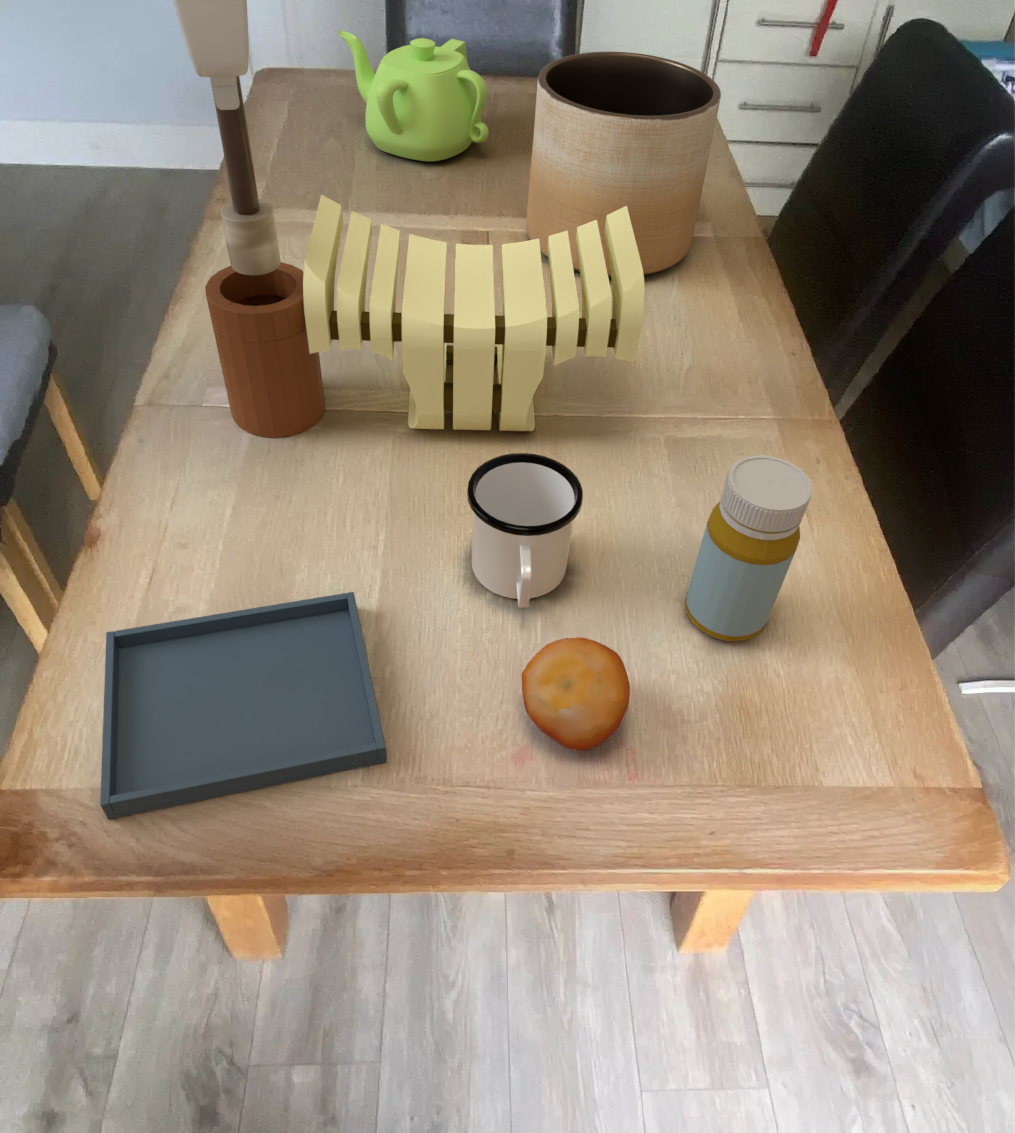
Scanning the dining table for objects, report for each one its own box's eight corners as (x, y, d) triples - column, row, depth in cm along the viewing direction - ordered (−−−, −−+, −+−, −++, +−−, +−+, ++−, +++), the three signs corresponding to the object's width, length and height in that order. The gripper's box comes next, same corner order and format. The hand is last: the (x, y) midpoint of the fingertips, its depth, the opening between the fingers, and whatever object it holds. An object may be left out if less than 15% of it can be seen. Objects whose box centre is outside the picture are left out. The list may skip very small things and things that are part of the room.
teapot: (499, 163, 137) (503, 59, 126) (368, 174, 132) (361, 67, 121) (465, 115, 149) (466, 17, 138) (344, 124, 144) (336, 22, 133)
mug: (465, 526, 83) (467, 450, 76) (568, 529, 83) (578, 453, 77) (464, 628, 75) (466, 553, 68) (578, 630, 75) (591, 555, 69)
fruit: (662, 689, 70) (645, 667, 62) (602, 774, 69) (578, 761, 62) (580, 633, 73) (555, 606, 66) (522, 713, 72) (491, 694, 65)
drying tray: (108, 819, 62) (99, 805, 60) (113, 647, 72) (106, 631, 70) (386, 762, 66) (385, 747, 64) (355, 607, 76) (353, 591, 74)
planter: (652, 199, 131) (678, 46, 116) (716, 276, 117) (755, 113, 102) (506, 211, 126) (514, 53, 111) (554, 292, 112) (570, 124, 97)
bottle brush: (232, 277, 80) (186, 38, 66) (229, 253, 82) (185, 19, 69) (283, 273, 81) (248, 36, 67) (278, 249, 83) (244, 17, 70)
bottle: (667, 613, 77) (704, 480, 66) (713, 571, 81) (755, 439, 70) (736, 659, 74) (786, 529, 63) (780, 613, 78) (835, 482, 67)
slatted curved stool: (321, 441, 90) (299, 278, 77) (337, 350, 101) (321, 194, 88) (619, 448, 92) (647, 289, 79) (603, 358, 103) (626, 205, 90)
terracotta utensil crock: (235, 443, 89) (207, 318, 79) (229, 387, 95) (203, 264, 85) (330, 431, 91) (316, 307, 81) (319, 377, 97) (304, 256, 87)
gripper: (142, -150, 67) (181, 53, 77) (141, -82, 54) (189, 153, 64) (229, -150, 69) (257, 51, 79) (249, -83, 55) (280, 148, 65)
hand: (226, 97), depth 71 cm, fingers closed on bottle brush, 2 cm apart
